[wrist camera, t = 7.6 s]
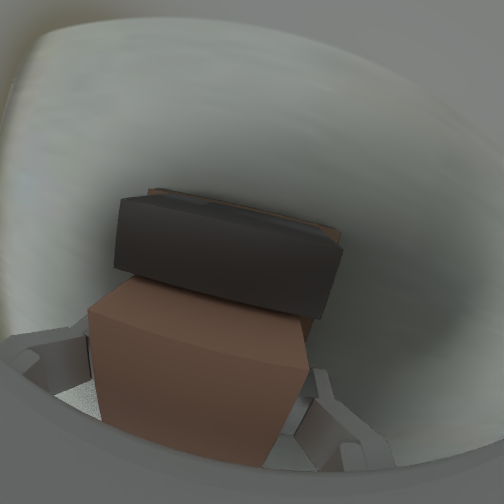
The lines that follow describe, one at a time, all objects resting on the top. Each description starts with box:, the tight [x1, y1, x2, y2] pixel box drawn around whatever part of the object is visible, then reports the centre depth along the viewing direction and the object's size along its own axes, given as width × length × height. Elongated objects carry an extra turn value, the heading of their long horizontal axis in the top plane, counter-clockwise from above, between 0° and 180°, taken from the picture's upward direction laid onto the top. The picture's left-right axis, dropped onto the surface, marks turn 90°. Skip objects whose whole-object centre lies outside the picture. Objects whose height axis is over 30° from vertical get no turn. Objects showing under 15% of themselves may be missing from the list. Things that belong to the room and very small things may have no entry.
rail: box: [114, 188, 343, 342], centre depth 12 cm, size 20×8×5 cm, turn 167°
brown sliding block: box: [88, 274, 310, 467], centre depth 9 cm, size 5×5×6 cm
